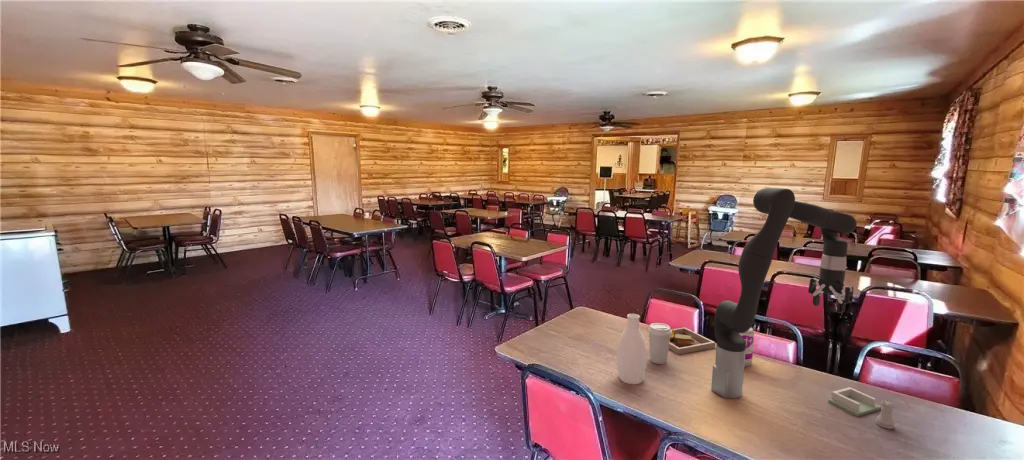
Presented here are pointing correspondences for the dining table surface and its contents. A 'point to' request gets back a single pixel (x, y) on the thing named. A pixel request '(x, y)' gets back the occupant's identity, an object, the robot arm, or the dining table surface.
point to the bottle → (632, 352)
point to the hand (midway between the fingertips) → (828, 309)
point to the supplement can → (748, 345)
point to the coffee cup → (659, 342)
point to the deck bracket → (854, 401)
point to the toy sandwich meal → (681, 340)
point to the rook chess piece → (886, 415)
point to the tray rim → (693, 348)
